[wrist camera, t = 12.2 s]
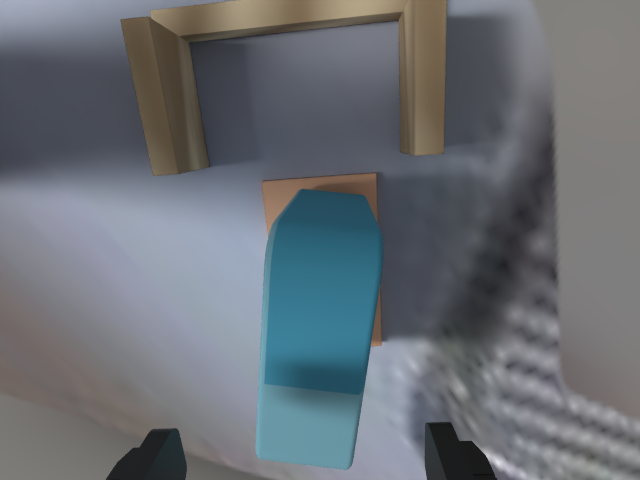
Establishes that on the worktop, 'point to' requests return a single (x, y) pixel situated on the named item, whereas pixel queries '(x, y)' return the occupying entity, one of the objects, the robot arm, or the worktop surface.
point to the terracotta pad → (286, 189)
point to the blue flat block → (317, 328)
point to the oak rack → (267, 18)
